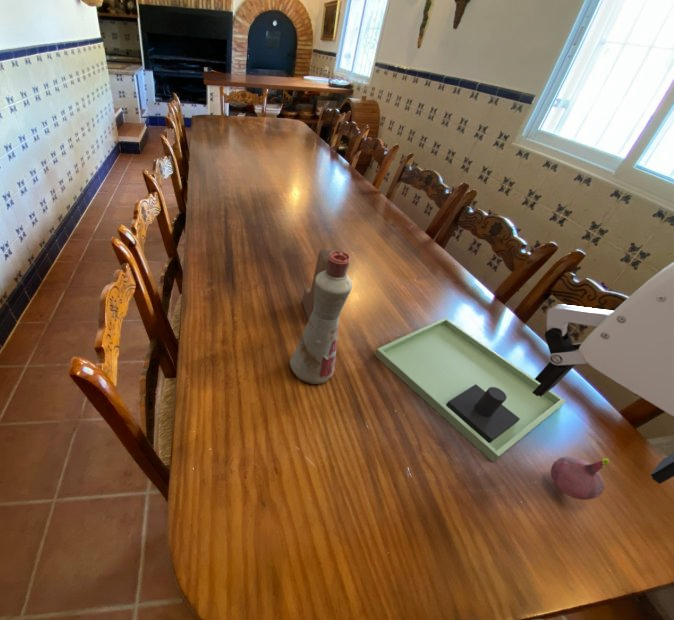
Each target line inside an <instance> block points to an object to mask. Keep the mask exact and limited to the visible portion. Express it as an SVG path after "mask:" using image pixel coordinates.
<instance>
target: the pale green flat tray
mask: <svg viewBox="0 0 674 620" xmlns="http://www.w3.org/2000/svg"><path fill="white" fill-rule="evenodd" d="M374 356H375V357H376V358H377V359H378V360H379V361H380V362H381V363H382V364H383V365H385V366H386V367H387V368H388V369H389V370H390V371H391V372H393V373H394V375H396V376H397V377H398V378H399V379H400V380H401V381H402V382H403V383H404V384H406V385H407V386H408V387H409V388H410V389H411V390H412V391H413V392H414V393H416V394H417V396H419V397H420V398H422V400H423V401H425V403H426V404H428V405H429V406H430V407H431V408H432V409H433V410H434V411H435V412H437V414H439V415H440V417H442V418H443V419H444V420H445V421H446V422H448V423H449V425H450V426H452V427H453V428H455V430H456V431H457V432H458V433H460V434H461V435H462V436H463V437H464V438H465V439H466V440H468V442H470V443H471V444H472V445H473V446H474V447H475V448H476V449H478V451H480V452H481V453H482V454H483V455H484V456H485V457H486V458H487V459H489V460H490V461H491V462H492V463H494V462H495V461H497V459H499V458H501V456H502V455H504V454H505V453H506V452H508V451H509V450H510V449H512V447H514V446H515V445H516V444H517V443H518V442H520V441H521V440H522V439H523V438H524V437H526V436H527V435H528V434H529V433H531V432H532V431H533V430H534V429H536V428H537V427H538V426H539V425H540V424H542V423H543V422H544V421H546V419H548V418H550V417H551V415H553V414H554V413H556V412H557V411H558V410H559V409H560V408H561V407H562V406H563V405H564V404H566V402H567V400H566V399H564V398H563V397H561V395H559V394H557V393H556V392H554V391H553V390H552V389H550V390H549V391H548V392H546V393H545V394H544V395H542V396H541V397H540V396H536V395H535V394H533V393H532V392H533V391H534V390H535V389H536V388H537V387H538V386H539V385H540V384H541V383H539V382H538V381H536V380H535V377H533V376H531V375H530V374H528V373H527V372H525V371H524V370H523V369H521V368H520V367H518V366H517V365H515V364H514V363H512V362H511V361H509V360H508V359H507V358H505V357H504V356H502V355H501V354H500V353H498V352H496V351H495V350H494V349H492V348H490V347H489V346H488V345H486V344H485V343H484V342H482V341H481V340H479V339H478V338H476V337H475V336H473V335H471V333H469V332H467V331H466V330H465V329H463V328H461V326H459V325H457V324H456V323H455V322H453V321H452V320H450V319H449V318H447V317H446V316H444V317H443V318H440V319H437V320H436V321H434V322H432V323H430V324H427V325H426V326H423V327H421V328H419V329H416V330H415V331H412V332H410V333H408V334H406V335H404V336H401V337H400V338H397V339H395V340H393V341H390V342H389V343H386V344H384V345H382V346H379V347H377V348H376V350H375V353H374ZM475 384H476V385H478V386H479V387H480V388H481V389H483V390H484V391H485V392H486V391H487V390H488V389H489V388H490V387H496V388H499V389H500V390H502V391H503V392H504V393H505V394H506V400H505V401H504V402H503V403H502V405H503V406H504V407H506V408H507V409H508V410H510V411H511V412H512V413H513V414H515V415H516V416H517V417H519V418H520V420H519V421H518V422H517V423H515V424H514V425H513V426H511V427H510V428H509V429H507V430H506V431H505V432H504V433H502V434H501V435H500V436H498V437H497V438H496V439H494V440H493V441H492V442H491V443H488V442H487V441H486V440H485V439H484V438H483V437H481V436H480V435H479V434H478V433H477V432H476V431H475V430H473V429H472V428H471V427H470V426H469V425H468V424H467V423H465V422H464V421H463V420H462V419H461V418H460V417H459V416H457V415H456V414H455V413H454V412H453V411H452V410H451V409H449V408H448V407H447V406H446V404H447V402H448V401H450V400H451V399H453V398H455V397H456V396H458V395H459V394H461V393H462V392H464V391H466V390H467V389H469V388H470V387H472V386H474V385H475Z"/></svg>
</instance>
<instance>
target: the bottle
mask: <svg viewBox="0 0 674 620" xmlns="http://www.w3.org/2000/svg"><path fill="white" fill-rule="evenodd" d="M351 261H352V260H351V256H350V255H349V253H347V252H346V251H342V250H338V251H333V252H331V253H330V254H329V255H328V264H327V269H326V270H325V271H322V272H320V273H319V274H318V275H317V276H316V278H315V290H314V309H313V311H312V314H311V316H310V318H309V321H308V320H307V323H306V324H305V325H306V326H305V328H304V330H303V332H302V334H301V337H300V339H299V340H298V343H297V346H296V348H295V350H294V352H293V354H292V356H291V358H290V360H289V366H290V369H291V370H292V372H293V374H294V375H295V376H296V377H297V379H298V380H299V381H303V382H305V383H306V384H310V385H320V384H324V383H326V382H327V381H329V380H330V379H331V378H332V376H333V375H334V373H335V367H336V355H337V346H338V336H339V326H340V325H339V324H340V323H339V322H340V315H341V313H342V311H343V308H344V306H345V304H346V301H347V300H348V298H349V295H350V294H351V291H352V288H353V281H352V279H351V278H350V276H349V275H348V274H347V272H348V269H349V266H350V263H351Z"/></svg>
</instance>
